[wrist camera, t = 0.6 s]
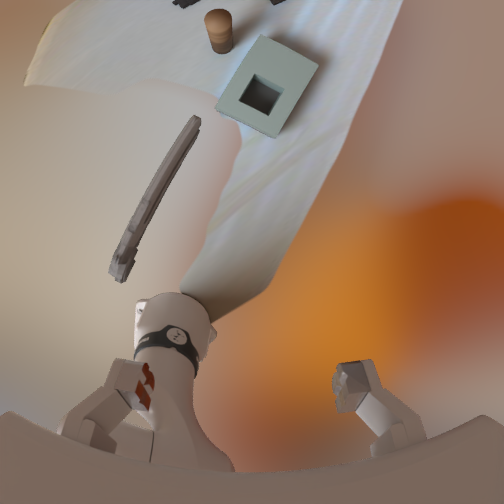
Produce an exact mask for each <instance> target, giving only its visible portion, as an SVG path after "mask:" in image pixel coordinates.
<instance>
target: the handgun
mask: <svg viewBox="0 0 504 504" xmlns="http://www.w3.org/2000/svg"><path fill="white" fill-rule="evenodd" d="M198 1H199V0H175V1H173V2H172V3H173V4H175V5H177V4H179V5H180V7H181V8H183V9H184V8H186V7H187V6H189V5H193V4H194V3H196V2H198ZM270 1H271V2H272V4H273V5H276V4H278V3H281V2H283V1H285V0H270Z"/></svg>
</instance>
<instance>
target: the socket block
mask: <svg viewBox="0 0 504 504" xmlns="http://www.w3.org/2000/svg"><path fill="white" fill-rule="evenodd" d="M318 66H319V65H318V64H316V63H315V62H313V61H311V60H309V59H308V58H306V57H304V56H302V55H301V54H299V53H297V52H295V51H293V50H291V49H290V48H288V47H286V46H284V45H282V44H280V43H278V42H276V41H274V40H272V39H270V38H268V37H265V36H263V35H261V34H260V36H259V37H258V39H257V40H256V42H255V43H254V45H253V46H252V48H251V49H250V51H249V52H248V54H247V55H246V57H245V58H244V60H243V61H242V63H241V64H240V66H239V68H238V69H237V71H236V73H235V74H234V76H233V77H232V79H231V81H230V82H229V84H228V86H227V87H226V89H225V91H224V93H223V94H222V96H221V98H220V99H219V101H218V103H217V105H216V107H215V109H216V110H217V111H219V112H221V113H223V114H225V115H227V116H229V117H231V118H233V119H235V120H238V121H240V122H242V123H244V124H246V125H248V126H250V127H252V128H254V129H255V130H257V131H259V132H261V133H263V134H265V135H267V136H269V137H271V138H276V137H277V135H278V133H279V132H280V130H281V128H282V126H283V125H284V123H285V121H286V120H287V118H288V116H289V114H290V113H291V111H292V109H293V108H294V106H295V104H296V103H297V101H298V99H299V98H300V96H301V94H302V93H303V91H304V89H305V88H306V86H307V84H308V83H309V81H310V79H311V78H312V76H313V75H314V73H315V71H316V70H317V68H318Z"/></svg>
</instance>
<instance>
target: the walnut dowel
mask: <svg viewBox="0 0 504 504" xmlns="http://www.w3.org/2000/svg"><path fill="white" fill-rule="evenodd" d="M204 22H205V25H206V28H207V32H208V35H209V38H210V42H211V45H212V48H213V50H214V51H215V52H216V53H218V54H226V53H228V52H230V51H231V49H232V47H233V36H232V16H231V14H230V13H229V12H228V11H227V10H224V9H214V10H211V11H210V12H208V13H207V14H206V16H205V18H204Z"/></svg>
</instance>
